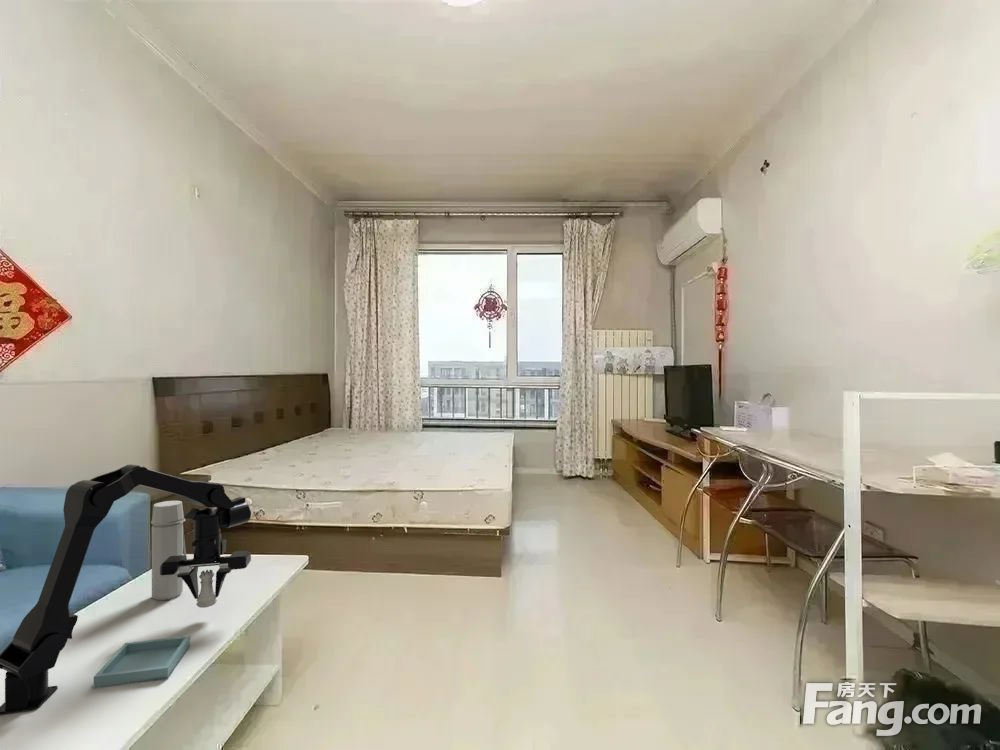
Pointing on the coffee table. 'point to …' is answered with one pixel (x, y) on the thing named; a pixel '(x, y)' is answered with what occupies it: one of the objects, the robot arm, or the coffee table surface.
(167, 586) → the water bottle
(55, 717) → the coffee table surface
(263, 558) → the coffee table surface
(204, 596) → the rook chess piece
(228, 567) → the robot arm
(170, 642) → the slate tray
